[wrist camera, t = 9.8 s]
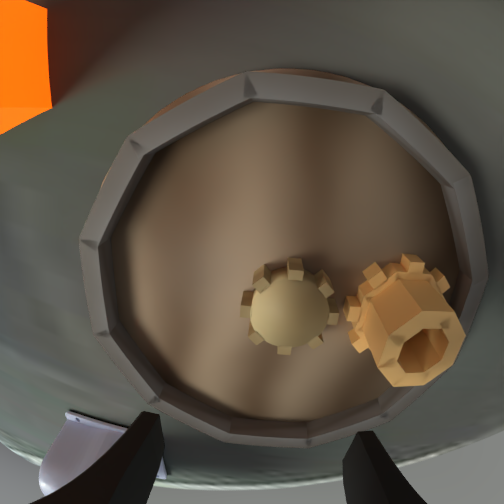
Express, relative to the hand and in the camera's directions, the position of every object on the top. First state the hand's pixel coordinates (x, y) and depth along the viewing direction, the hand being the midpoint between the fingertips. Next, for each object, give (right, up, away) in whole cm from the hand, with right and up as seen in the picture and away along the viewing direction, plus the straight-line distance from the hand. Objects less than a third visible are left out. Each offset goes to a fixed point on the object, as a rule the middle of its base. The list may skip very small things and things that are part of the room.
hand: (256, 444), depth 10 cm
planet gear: (+8, +4, +7) cm, 11 cm away
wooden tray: (+2, +5, +8) cm, 9 cm away
